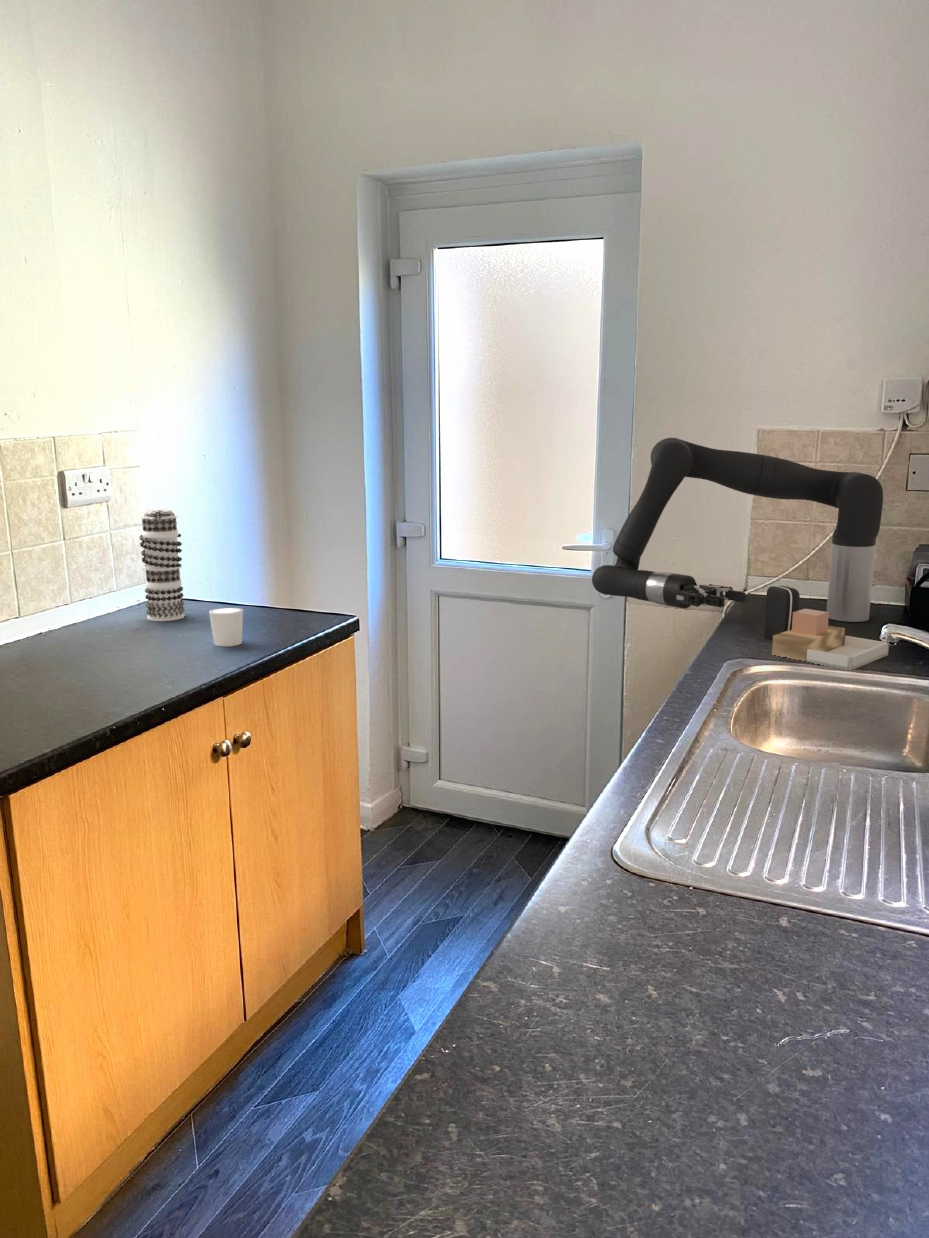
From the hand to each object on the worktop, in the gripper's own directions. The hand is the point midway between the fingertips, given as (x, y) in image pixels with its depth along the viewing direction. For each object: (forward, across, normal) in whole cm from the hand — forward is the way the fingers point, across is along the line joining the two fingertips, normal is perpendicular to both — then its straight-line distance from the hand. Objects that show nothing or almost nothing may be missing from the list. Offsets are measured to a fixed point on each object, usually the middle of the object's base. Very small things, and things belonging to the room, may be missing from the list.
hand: (734, 599), depth 207 cm
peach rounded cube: (+20, -5, +3) cm, 21 cm away
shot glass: (-68, -84, +8) cm, 108 cm away
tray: (+28, -5, +7) cm, 29 cm away
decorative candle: (-101, -81, +9) cm, 129 cm away
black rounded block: (+11, 0, +7) cm, 13 cm away
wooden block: (+20, -5, +7) cm, 22 cm away
